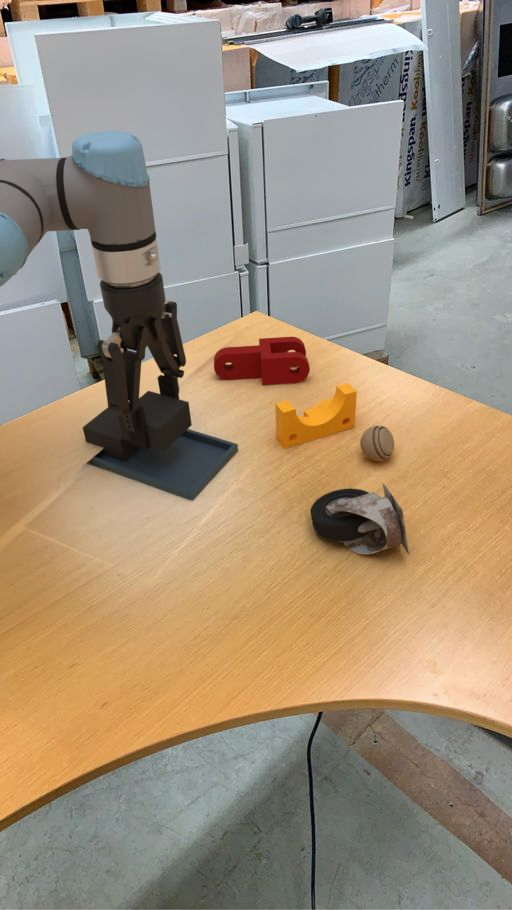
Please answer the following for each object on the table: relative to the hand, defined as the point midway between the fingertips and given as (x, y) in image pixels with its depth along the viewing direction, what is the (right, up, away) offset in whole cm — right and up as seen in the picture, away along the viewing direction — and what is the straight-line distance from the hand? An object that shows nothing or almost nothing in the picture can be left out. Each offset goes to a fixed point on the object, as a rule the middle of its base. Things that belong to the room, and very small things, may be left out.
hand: (157, 430), depth 92 cm
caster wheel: (+26, -14, -11) cm, 31 cm away
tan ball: (+31, -4, +1) cm, 32 cm away
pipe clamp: (+23, 0, +7) cm, 24 cm away
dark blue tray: (-1, -4, +4) cm, 5 cm away
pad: (-6, -2, +6) cm, 9 cm away
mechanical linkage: (+15, +10, +21) cm, 27 cm away
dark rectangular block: (0, 0, 0) cm, 0 cm away
